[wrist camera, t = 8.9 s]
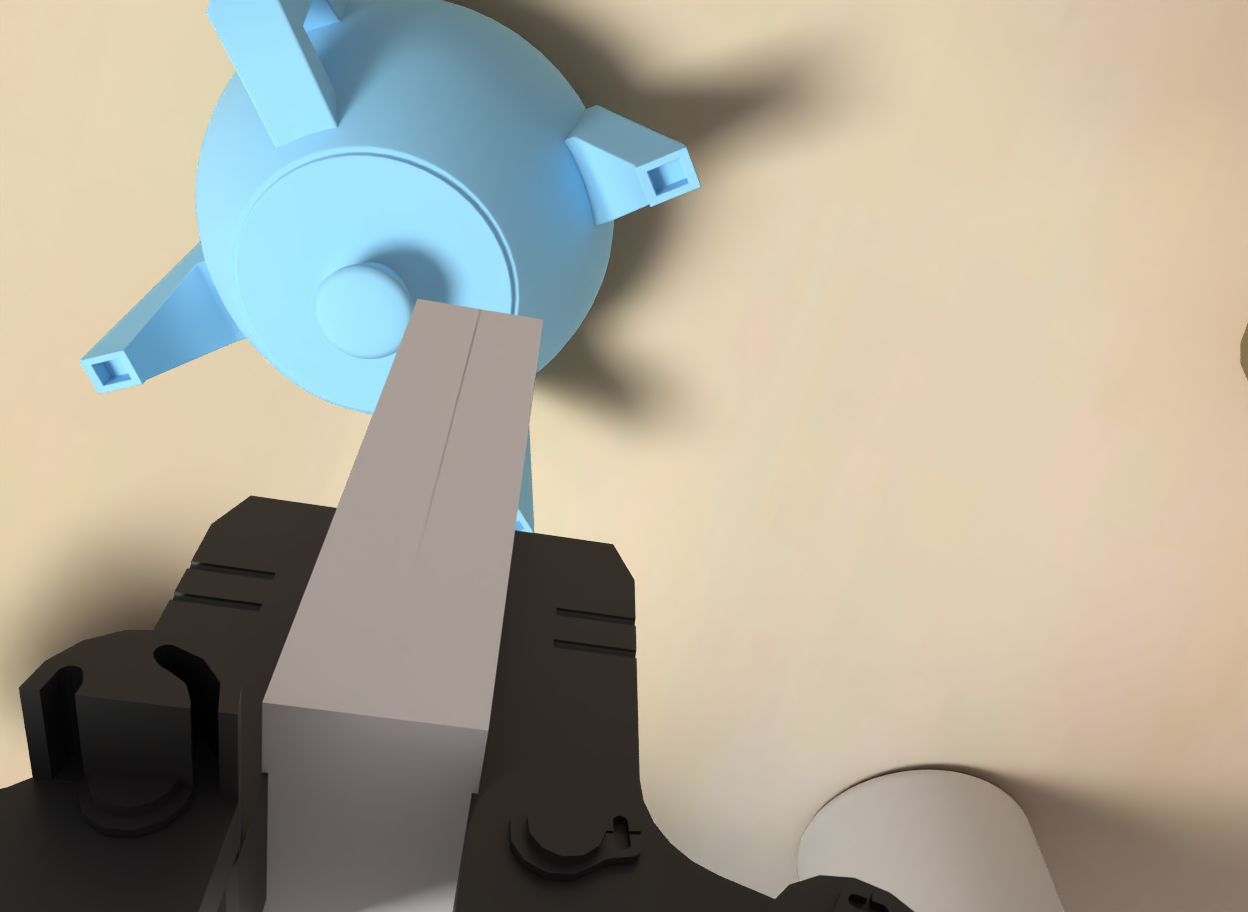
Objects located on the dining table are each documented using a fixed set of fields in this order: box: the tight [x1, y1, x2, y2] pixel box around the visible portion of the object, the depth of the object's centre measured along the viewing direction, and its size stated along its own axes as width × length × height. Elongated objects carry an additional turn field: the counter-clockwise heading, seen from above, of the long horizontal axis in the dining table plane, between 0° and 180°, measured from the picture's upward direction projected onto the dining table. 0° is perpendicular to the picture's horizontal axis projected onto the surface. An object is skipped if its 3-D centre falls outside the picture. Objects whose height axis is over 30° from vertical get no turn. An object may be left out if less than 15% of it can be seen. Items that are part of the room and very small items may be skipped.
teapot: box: [80, 0, 701, 533], centre depth 34 cm, size 15×15×11 cm
